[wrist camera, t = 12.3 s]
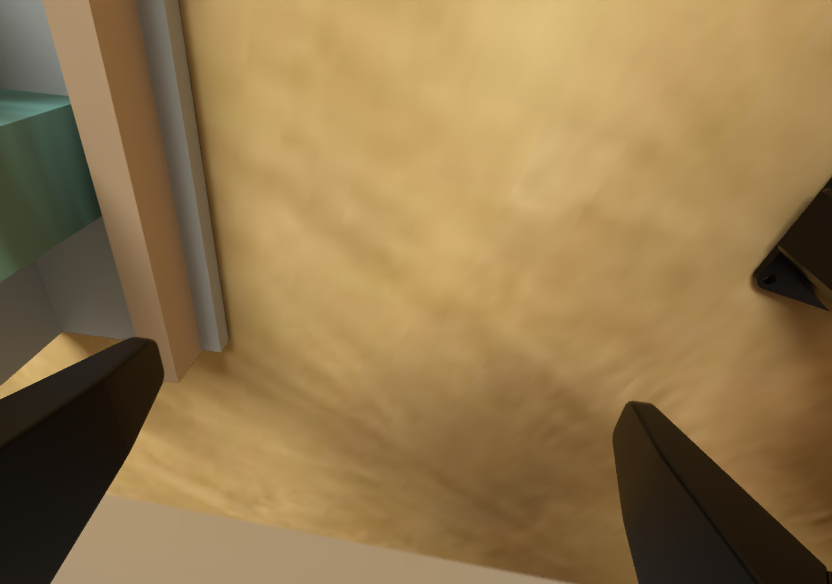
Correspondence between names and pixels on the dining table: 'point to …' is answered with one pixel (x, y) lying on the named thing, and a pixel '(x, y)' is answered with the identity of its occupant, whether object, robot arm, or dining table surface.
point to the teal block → (40, 177)
